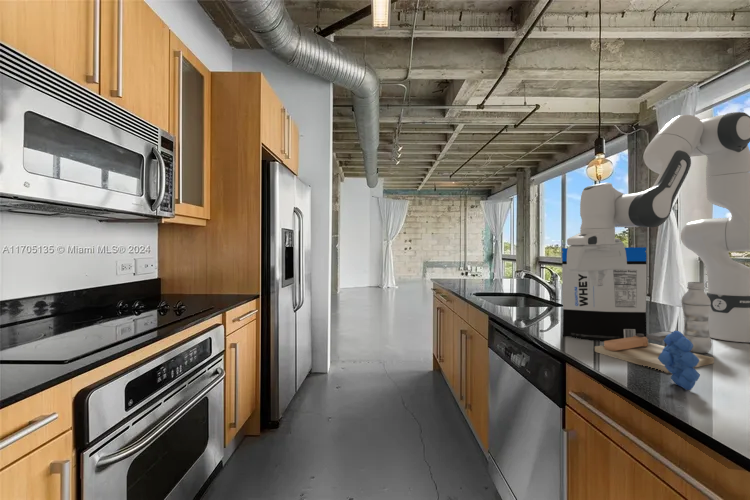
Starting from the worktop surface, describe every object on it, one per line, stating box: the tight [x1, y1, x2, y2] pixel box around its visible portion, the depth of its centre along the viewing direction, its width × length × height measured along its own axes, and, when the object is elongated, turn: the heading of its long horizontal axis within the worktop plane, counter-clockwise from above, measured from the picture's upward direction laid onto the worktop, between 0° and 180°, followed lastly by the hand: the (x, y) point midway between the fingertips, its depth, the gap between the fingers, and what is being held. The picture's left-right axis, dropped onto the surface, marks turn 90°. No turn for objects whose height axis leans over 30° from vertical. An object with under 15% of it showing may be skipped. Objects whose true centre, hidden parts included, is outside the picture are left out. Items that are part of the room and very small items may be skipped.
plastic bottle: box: [680, 281, 713, 354], centre depth 110 cm, size 6×7×20 cm
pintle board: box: [594, 330, 715, 374], centre depth 106 cm, size 18×20×6 cm
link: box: [603, 336, 649, 351], centre depth 110 cm, size 15×4×2 cm, turn 111°
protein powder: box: [561, 246, 648, 343], centre depth 127 cm, size 10×24×30 cm, turn 71°
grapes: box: [658, 330, 701, 391], centre depth 86 cm, size 12×7×12 cm, turn 166°
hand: (597, 285), depth 113 cm, fingers closed
